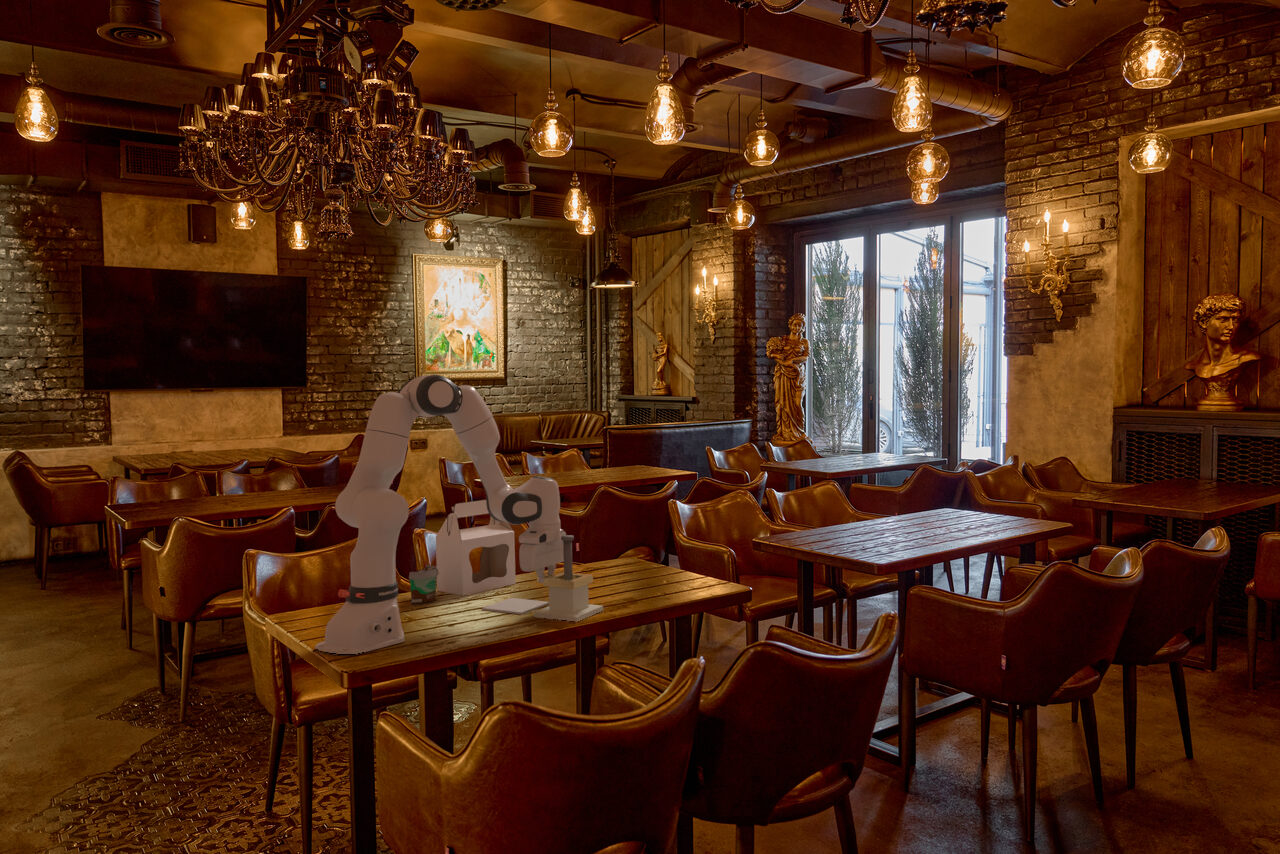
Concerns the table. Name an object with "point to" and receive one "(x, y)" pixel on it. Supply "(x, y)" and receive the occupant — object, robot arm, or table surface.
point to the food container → (423, 585)
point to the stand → (568, 594)
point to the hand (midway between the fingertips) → (546, 581)
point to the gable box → (459, 544)
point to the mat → (515, 606)
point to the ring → (564, 583)
